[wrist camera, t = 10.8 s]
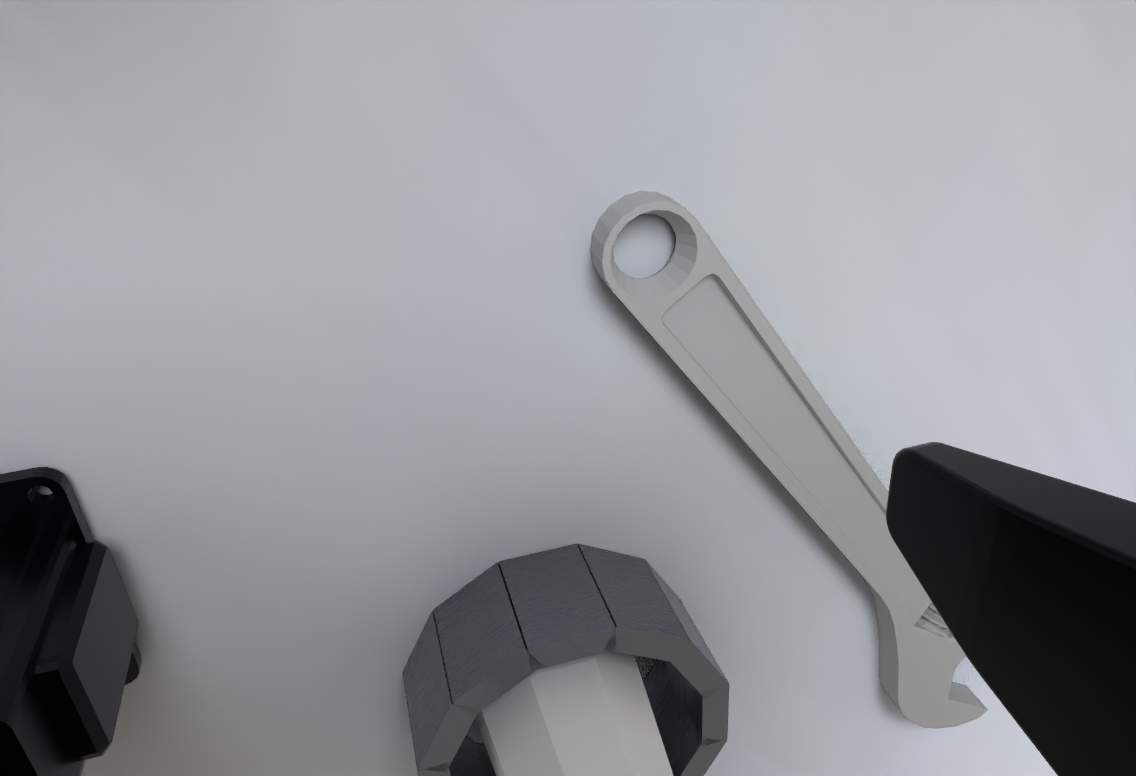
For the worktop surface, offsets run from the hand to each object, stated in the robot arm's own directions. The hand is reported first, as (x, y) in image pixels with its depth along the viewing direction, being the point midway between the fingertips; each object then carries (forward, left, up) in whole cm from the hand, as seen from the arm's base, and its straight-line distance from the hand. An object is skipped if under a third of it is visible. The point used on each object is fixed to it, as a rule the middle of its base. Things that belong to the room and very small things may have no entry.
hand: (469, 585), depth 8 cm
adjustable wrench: (+14, -11, -14) cm, 22 cm away
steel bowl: (+3, -15, -13) cm, 20 cm away
